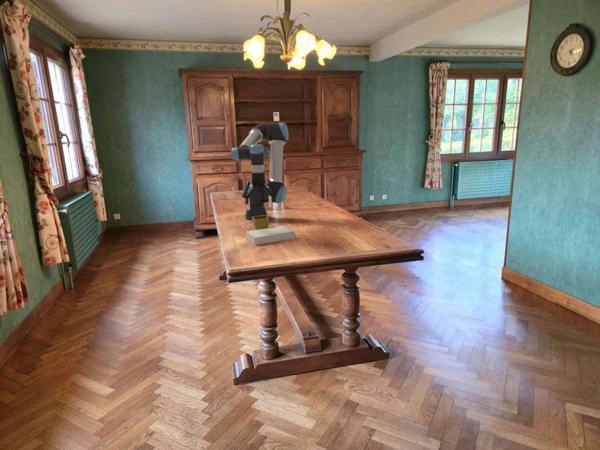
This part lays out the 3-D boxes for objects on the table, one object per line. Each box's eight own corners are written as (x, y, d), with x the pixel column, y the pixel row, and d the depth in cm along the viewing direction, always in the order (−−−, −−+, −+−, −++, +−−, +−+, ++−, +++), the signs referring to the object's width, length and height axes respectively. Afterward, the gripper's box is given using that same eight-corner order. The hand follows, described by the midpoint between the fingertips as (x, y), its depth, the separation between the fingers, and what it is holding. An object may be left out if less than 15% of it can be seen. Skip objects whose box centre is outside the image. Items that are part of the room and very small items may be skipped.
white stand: (246, 238, 219) (246, 231, 218) (285, 232, 229) (284, 225, 228) (254, 244, 207) (254, 237, 205) (295, 238, 217) (295, 231, 216)
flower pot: (255, 234, 226) (254, 219, 223) (252, 230, 234) (251, 216, 231) (269, 233, 228) (269, 218, 225) (267, 229, 236) (266, 214, 234)
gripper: (239, 174, 213) (241, 212, 218) (280, 171, 223) (281, 207, 229) (235, 173, 219) (237, 209, 225) (275, 169, 230) (276, 204, 235)
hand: (259, 208), depth 227 cm, fingers open, 13 cm apart
